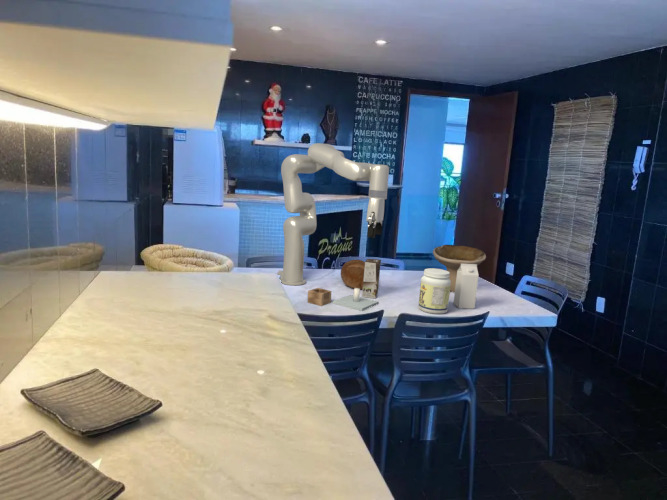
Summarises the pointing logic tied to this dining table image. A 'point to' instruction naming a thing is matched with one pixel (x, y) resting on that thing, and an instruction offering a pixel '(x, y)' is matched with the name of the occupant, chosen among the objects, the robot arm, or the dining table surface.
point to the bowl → (457, 259)
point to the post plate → (357, 304)
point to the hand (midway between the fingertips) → (374, 235)
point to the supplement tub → (434, 291)
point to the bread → (353, 273)
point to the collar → (319, 296)
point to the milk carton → (466, 286)
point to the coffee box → (371, 278)
